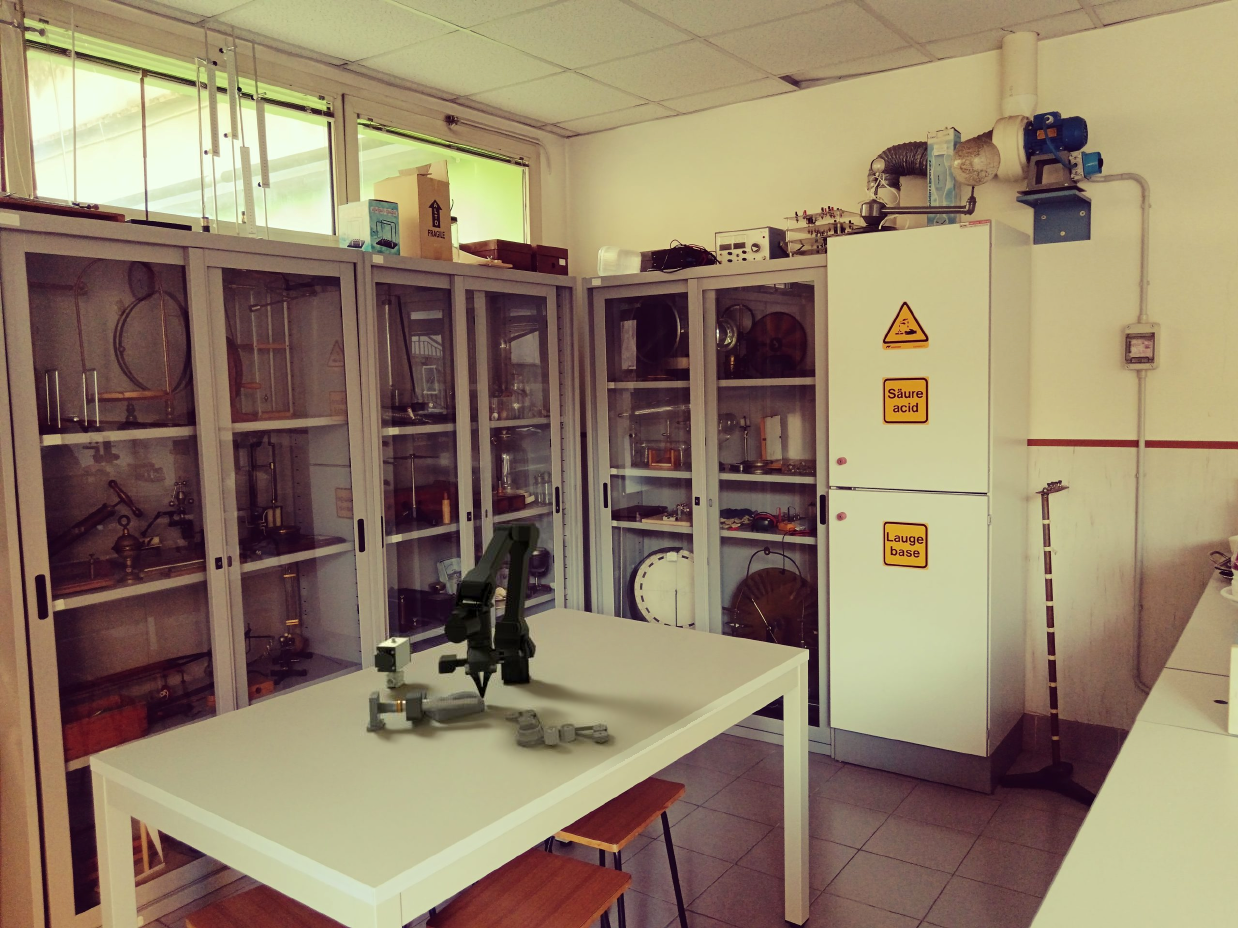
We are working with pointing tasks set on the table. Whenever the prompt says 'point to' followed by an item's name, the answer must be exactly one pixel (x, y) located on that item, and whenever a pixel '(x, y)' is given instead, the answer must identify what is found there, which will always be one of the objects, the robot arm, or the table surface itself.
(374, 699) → the linear shaft assembly
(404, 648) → the pneumatic valve
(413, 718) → the collar
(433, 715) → the stone block
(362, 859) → the table surface
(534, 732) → the pulley system
